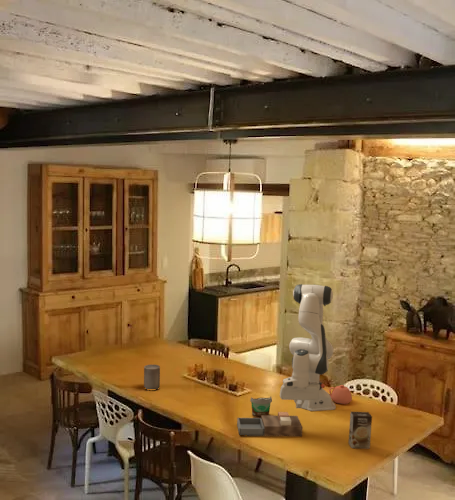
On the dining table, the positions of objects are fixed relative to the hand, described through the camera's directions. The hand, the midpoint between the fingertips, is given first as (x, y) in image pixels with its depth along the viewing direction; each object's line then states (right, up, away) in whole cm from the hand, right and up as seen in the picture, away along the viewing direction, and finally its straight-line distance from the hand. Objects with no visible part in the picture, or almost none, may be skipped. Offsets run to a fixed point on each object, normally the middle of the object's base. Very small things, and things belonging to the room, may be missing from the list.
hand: (298, 407), depth 307 cm
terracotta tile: (-8, -6, +1) cm, 10 cm away
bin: (-25, -10, -3) cm, 27 cm away
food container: (-18, -9, +16) cm, 26 cm away
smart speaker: (-83, -4, +57) cm, 101 cm away
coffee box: (+27, -14, -19) cm, 36 cm away
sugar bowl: (+29, -8, +44) cm, 54 cm away
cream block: (-8, -6, -6) cm, 12 cm away
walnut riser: (-9, -11, -3) cm, 15 cm away
